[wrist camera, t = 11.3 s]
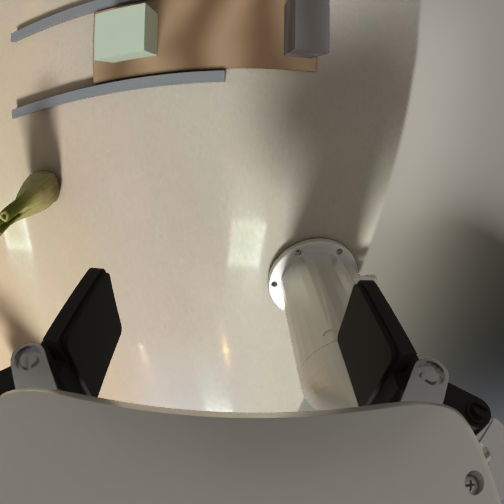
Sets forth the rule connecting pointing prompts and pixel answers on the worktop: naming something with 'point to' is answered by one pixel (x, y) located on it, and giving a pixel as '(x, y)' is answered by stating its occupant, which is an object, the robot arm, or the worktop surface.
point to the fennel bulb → (31, 198)
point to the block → (125, 33)
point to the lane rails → (101, 3)
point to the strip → (229, 37)
